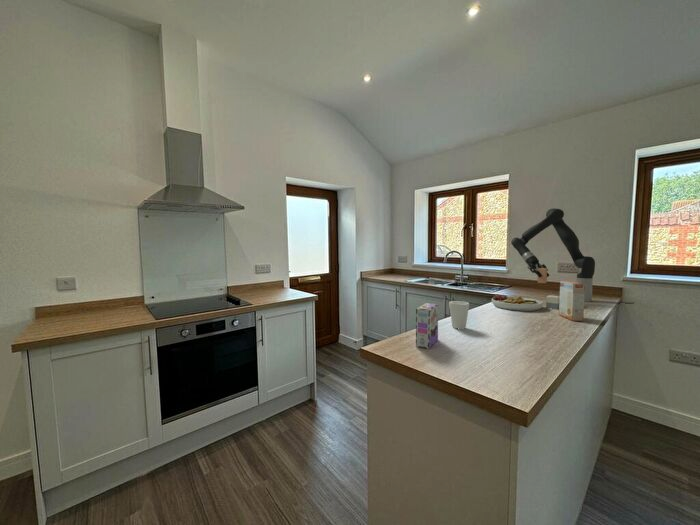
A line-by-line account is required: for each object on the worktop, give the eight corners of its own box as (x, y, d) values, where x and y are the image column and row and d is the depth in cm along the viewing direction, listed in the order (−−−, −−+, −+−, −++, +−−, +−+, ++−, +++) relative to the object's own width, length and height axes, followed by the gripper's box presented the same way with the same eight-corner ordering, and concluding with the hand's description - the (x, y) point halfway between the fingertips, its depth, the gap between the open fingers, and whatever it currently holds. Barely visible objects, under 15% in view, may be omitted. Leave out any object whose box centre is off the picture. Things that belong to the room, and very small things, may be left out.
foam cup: (448, 329, 145) (448, 303, 144) (449, 324, 153) (449, 300, 152) (469, 331, 141) (469, 305, 140) (468, 326, 150) (469, 301, 149)
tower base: (548, 306, 195) (548, 301, 195) (559, 308, 191) (559, 302, 191) (546, 308, 191) (546, 302, 191) (556, 309, 187) (557, 303, 187)
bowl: (546, 306, 196) (546, 295, 196) (537, 314, 174) (537, 301, 174) (498, 301, 217) (499, 291, 216) (485, 308, 195) (485, 296, 194)
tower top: (549, 301, 195) (549, 295, 195) (559, 302, 190) (560, 296, 190) (546, 302, 191) (546, 296, 191) (557, 303, 186) (557, 297, 186)
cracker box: (584, 321, 156) (585, 283, 155) (571, 321, 157) (572, 283, 156) (570, 315, 170) (571, 280, 169) (558, 315, 171) (559, 280, 170)
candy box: (429, 349, 117) (429, 309, 116) (415, 346, 120) (415, 307, 119) (438, 340, 128) (438, 303, 128) (425, 337, 132) (425, 302, 131)
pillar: (539, 281, 206) (539, 268, 206) (546, 282, 203) (547, 268, 202) (537, 282, 203) (537, 268, 203) (544, 283, 200) (545, 268, 199)
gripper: (525, 255, 207) (540, 273, 196) (541, 255, 211) (556, 272, 200) (519, 262, 213) (533, 280, 202) (534, 262, 216) (549, 279, 206)
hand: (544, 276), depth 201 cm, fingers closed on pillar, 6 cm apart
